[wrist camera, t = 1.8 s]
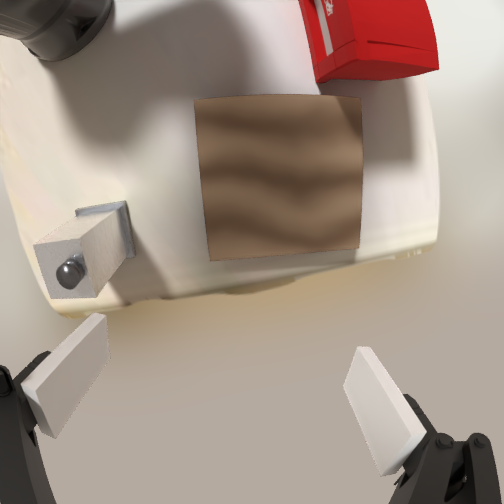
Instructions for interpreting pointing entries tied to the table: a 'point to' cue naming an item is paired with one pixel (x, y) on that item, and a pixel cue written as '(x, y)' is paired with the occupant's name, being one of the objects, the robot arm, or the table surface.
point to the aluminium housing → (85, 251)
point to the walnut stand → (280, 173)
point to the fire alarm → (369, 39)
